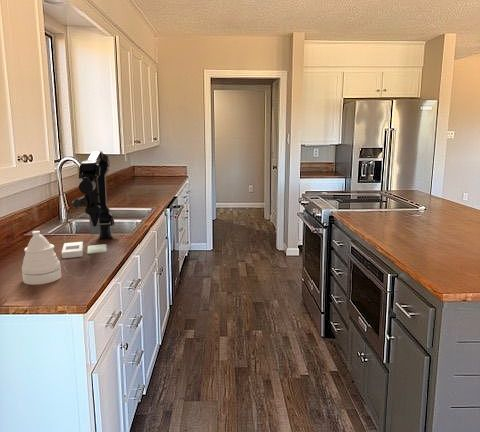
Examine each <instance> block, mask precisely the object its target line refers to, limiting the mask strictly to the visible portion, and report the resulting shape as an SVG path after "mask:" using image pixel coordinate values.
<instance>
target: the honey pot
mask: <svg viewBox="0 0 480 432" xmlns="http://www.w3.org/2000/svg"><path fill="white" fill-rule="evenodd" d="M31 235H32V237H31V238H30V239H29V242H28V244H27V246H26V247H25V248H23V249H24V250H23V251H24V252H25V253H24V254H25V255H24V257H23V261H22V265H21V274H22V282H23V283H24V284H25V285H33V286H34V285H43V284H48V283H53V282H56V281H58V280H59V279H61V278H62V268H61V261H60V260H59V259H58V256H57V254H56V252H55V251H54V248H55V245H54V244H52V243H50V242H49V240H48V239H47V238H46V237H45V236H44V235H43V234H41V231H40V230H33V231H32V232H31Z"/></svg>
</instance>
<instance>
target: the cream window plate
mask: <svg viewBox="0 0 480 432" xmlns="http://www.w3.org/2000/svg"><path fill="white" fill-rule="evenodd" d="M83 252H84V241H75V242H74V241H73V242H64V243H63V246H62V250H61V259H69V258H79V257H80V258H81V257H83Z"/></svg>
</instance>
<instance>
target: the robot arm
mask: <svg viewBox="0 0 480 432" xmlns="http://www.w3.org/2000/svg"><path fill="white" fill-rule="evenodd" d="M110 164H111V161H110V158H109V156H108V155H107V154H104V153H103V151H101V150H93V151H90V155H89V157H88V159H87V160H83V161H81V162H80V164H79V169H78V179H80V180H81V179H82V180H81V181H80V182H79V184H78V190H79V191H80V193H82V194H84V195H83V196H81V197H78V198H75V199H73V200H72V201H71V204H72V206H73V208H74V210H77V209H79V208H81V207H83V206H84V211H85V214H86V215H88V216H89V215H90V217H91V220H92V223H93V226H94V227H95V226H96V225H97V222H98V219H99V223H100V234H98V240H105V239H106V240H107V239H113V234H112V230H111V229H112V227H113V226H115V219H114V216H113V214H112V213H111V211H112V210H111V209H110V207H109V205H108V199H107V198H108V195H107V175H108V173H109V171H110V167H111V166H110Z"/></svg>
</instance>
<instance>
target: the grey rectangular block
mask: <svg viewBox="0 0 480 432" xmlns="http://www.w3.org/2000/svg"><path fill="white" fill-rule="evenodd" d="M88 217H89V218H88V220H89V229H90V230H89V231H90V235H99V234H100V223H99V219H98V222H97V225H96V226H95V227H94V226H93V223H92V220H91V217H90V215H88Z"/></svg>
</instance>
